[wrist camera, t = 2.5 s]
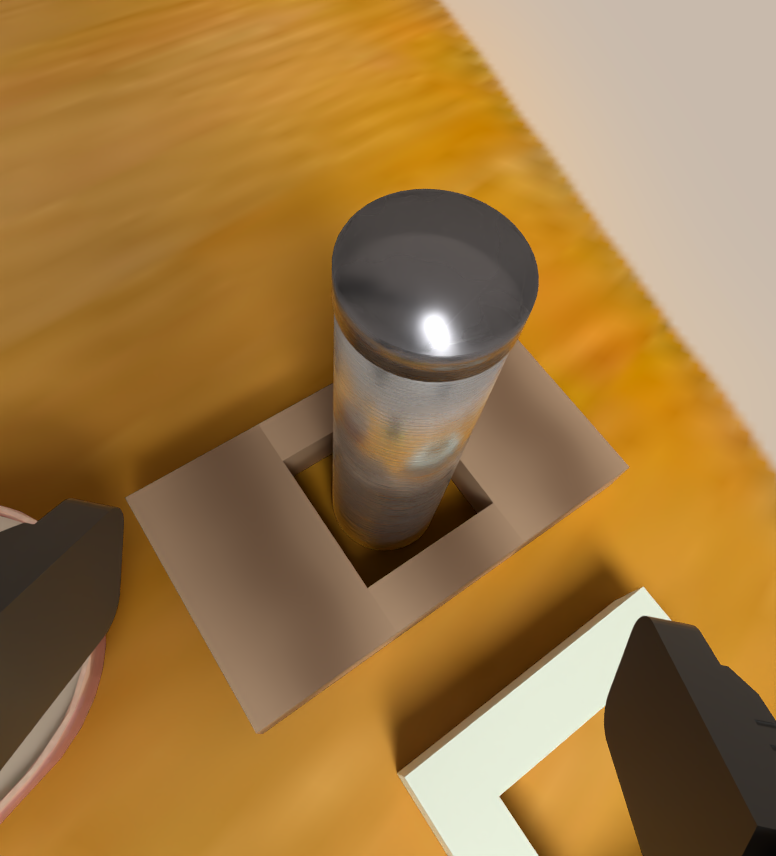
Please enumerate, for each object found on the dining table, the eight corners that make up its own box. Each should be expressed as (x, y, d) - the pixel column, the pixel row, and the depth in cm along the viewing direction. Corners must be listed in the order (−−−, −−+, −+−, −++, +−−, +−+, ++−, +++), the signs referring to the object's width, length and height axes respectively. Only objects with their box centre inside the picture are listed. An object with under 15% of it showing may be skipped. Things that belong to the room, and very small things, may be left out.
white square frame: (396, 773, 22) (404, 777, 19) (614, 600, 25) (643, 586, 22) (600, 1103, 18) (638, 1154, 16) (821, 858, 21) (879, 873, 19)
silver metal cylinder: (311, 485, 26) (292, 238, 13) (396, 434, 27) (455, 162, 14) (369, 572, 24) (412, 393, 12) (457, 514, 26) (580, 295, 13)
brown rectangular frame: (262, 733, 22) (256, 733, 20) (140, 515, 24) (124, 497, 23) (608, 485, 27) (629, 467, 25) (473, 327, 29) (483, 300, 28)
